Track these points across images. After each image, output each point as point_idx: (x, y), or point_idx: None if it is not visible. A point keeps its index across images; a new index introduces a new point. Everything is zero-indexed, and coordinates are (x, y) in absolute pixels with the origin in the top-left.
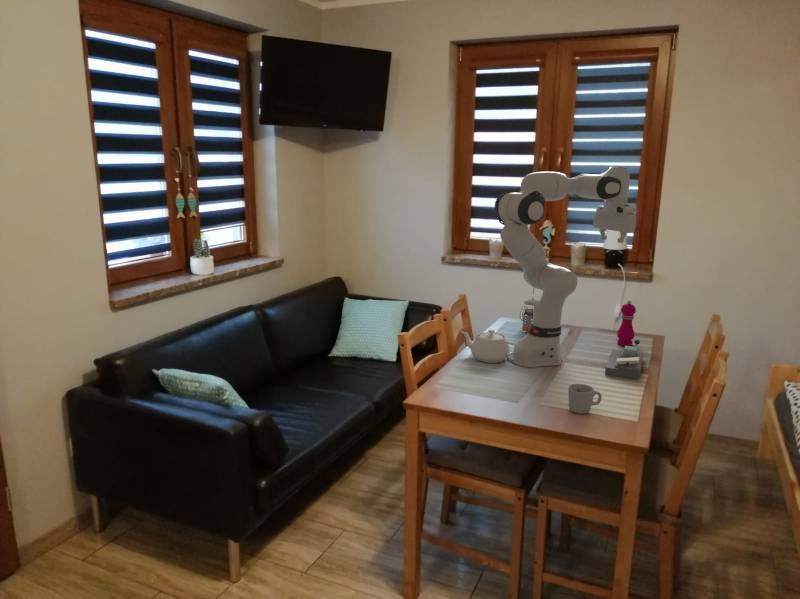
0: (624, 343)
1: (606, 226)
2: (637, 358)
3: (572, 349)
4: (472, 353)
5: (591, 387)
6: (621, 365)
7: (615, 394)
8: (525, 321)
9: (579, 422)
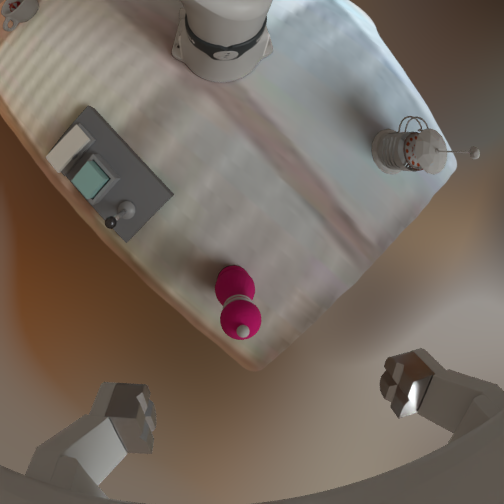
0: (222, 272)
1: (441, 494)
2: (54, 163)
3: (247, 141)
4: None
5: (7, 14)
6: None
7: (33, 79)
8: (399, 128)
9: None
